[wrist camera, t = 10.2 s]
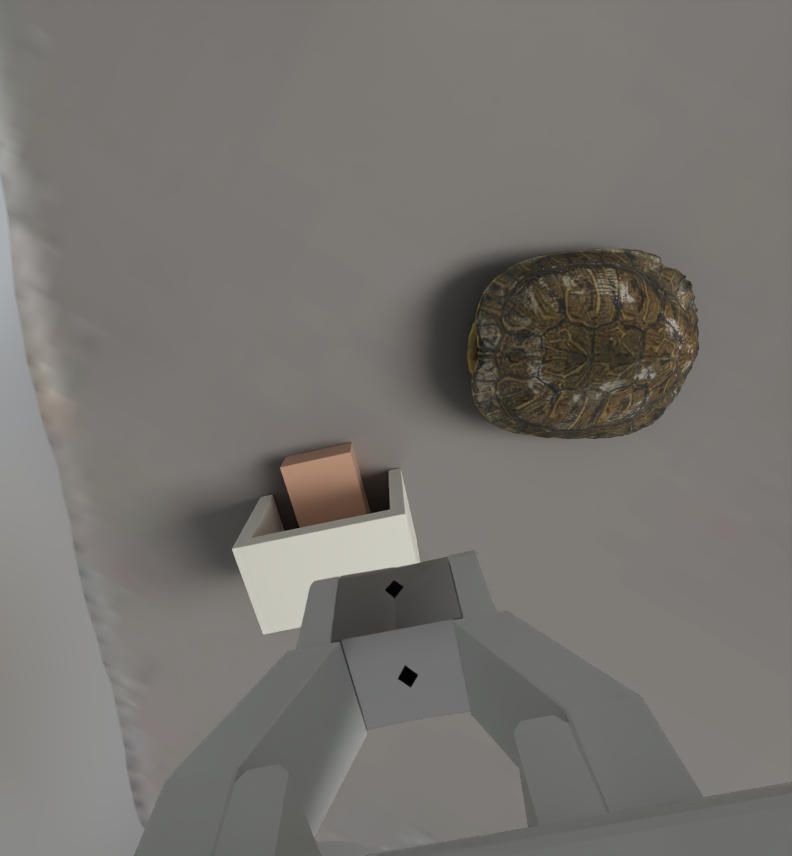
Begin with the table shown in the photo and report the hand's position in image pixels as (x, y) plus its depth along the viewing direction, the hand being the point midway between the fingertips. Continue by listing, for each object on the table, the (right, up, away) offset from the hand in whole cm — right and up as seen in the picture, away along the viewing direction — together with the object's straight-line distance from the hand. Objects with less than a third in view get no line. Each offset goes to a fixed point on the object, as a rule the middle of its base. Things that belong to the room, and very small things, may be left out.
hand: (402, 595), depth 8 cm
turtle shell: (+16, +11, +34) cm, 39 cm away
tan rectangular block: (-6, -3, +37) cm, 38 cm away
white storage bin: (-6, -6, +38) cm, 39 cm away
